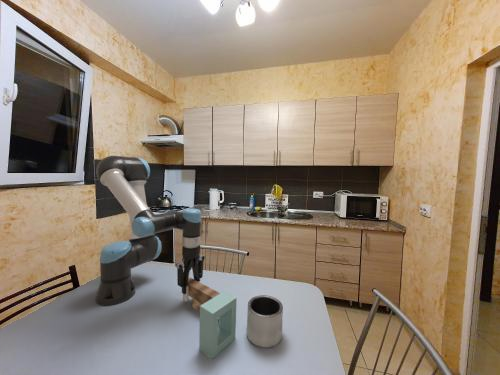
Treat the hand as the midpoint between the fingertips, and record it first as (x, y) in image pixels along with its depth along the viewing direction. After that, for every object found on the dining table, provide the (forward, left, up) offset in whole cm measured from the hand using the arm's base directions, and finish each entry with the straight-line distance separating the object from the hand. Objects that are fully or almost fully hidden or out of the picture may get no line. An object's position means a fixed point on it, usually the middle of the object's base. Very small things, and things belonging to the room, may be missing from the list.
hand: (190, 297), depth 93 cm
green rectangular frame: (+25, -8, -2) cm, 27 cm away
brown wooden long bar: (+8, 0, +2) cm, 8 cm away
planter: (+35, +5, -3) cm, 36 cm away
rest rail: (+9, 0, -2) cm, 10 cm away
